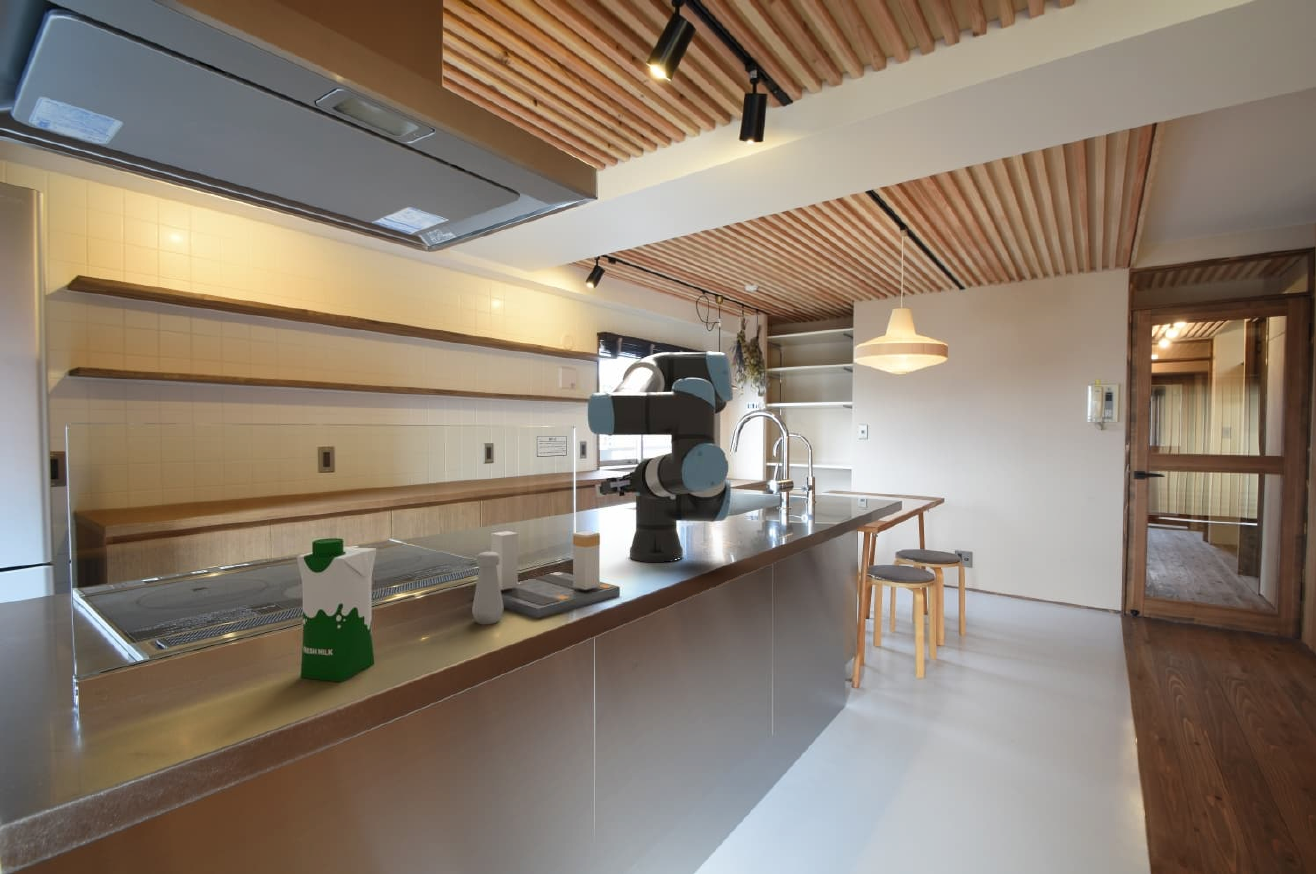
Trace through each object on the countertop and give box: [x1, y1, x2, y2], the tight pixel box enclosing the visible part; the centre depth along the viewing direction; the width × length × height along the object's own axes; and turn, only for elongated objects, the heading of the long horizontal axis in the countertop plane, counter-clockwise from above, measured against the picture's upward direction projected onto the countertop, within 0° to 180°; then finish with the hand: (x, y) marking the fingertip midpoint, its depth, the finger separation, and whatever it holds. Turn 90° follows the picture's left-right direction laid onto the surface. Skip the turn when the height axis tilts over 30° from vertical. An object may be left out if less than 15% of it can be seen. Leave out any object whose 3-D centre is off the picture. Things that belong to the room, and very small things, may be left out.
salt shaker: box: [471, 551, 504, 626], centre depth 114 cm, size 6×6×13 cm
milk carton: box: [296, 537, 378, 683], centre depth 90 cm, size 9×9×20 cm
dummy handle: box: [490, 530, 519, 590], centre depth 129 cm, size 4×4×12 cm
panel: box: [500, 570, 621, 620], centre depth 131 cm, size 22×22×2 cm
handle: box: [572, 530, 601, 590], centre depth 130 cm, size 4×4×12 cm
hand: (598, 490), depth 129 cm, fingers closed
